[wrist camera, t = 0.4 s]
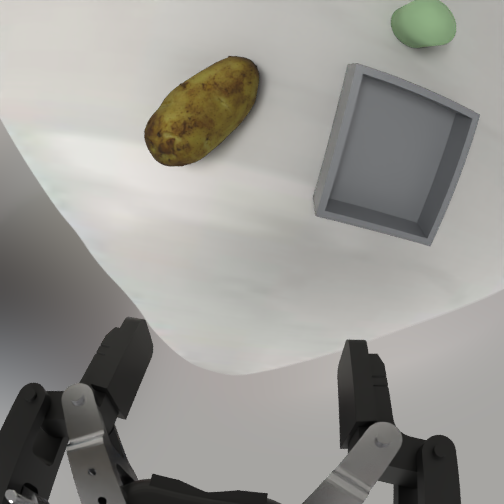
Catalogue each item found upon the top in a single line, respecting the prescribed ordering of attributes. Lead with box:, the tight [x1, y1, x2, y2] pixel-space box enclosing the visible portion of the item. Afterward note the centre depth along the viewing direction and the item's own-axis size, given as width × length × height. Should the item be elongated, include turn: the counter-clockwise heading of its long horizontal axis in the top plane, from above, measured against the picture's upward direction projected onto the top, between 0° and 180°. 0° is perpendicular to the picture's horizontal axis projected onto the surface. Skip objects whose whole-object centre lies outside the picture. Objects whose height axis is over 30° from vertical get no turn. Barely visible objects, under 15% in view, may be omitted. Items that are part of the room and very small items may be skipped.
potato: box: [144, 56, 259, 166], centre depth 30 cm, size 8×13×8 cm, turn 115°
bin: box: [313, 63, 480, 246], centre depth 31 cm, size 16×14×5 cm
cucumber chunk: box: [391, 0, 456, 48], centre depth 22 cm, size 5×5×6 cm
